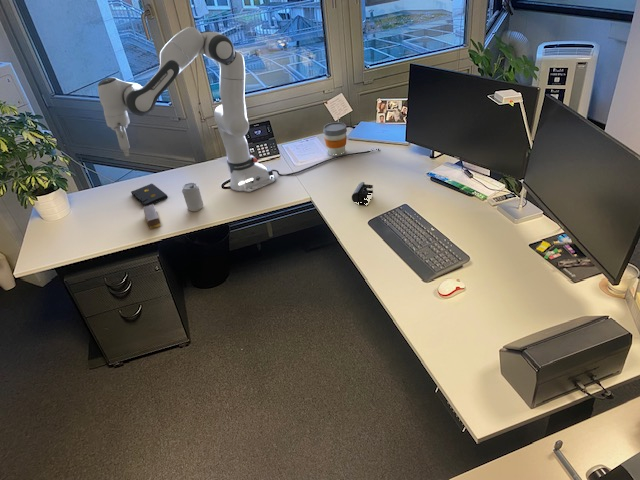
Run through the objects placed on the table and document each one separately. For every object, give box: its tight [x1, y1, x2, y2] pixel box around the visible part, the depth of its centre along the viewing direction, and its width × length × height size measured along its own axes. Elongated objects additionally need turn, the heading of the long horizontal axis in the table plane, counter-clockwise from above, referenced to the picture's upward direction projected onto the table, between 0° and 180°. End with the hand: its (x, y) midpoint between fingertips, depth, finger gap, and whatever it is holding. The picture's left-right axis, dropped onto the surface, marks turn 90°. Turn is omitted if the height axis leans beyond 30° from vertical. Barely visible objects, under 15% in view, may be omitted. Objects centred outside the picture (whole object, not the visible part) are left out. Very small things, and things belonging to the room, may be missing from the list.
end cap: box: [351, 181, 374, 207], centre depth 208 cm, size 10×7×7 cm
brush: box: [142, 203, 161, 230], centre depth 211 cm, size 5×14×4 cm, turn 25°
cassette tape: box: [130, 183, 168, 207], centre depth 231 cm, size 18×12×2 cm, turn 40°
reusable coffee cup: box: [322, 121, 348, 157], centre depth 250 cm, size 13×13×15 cm
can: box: [181, 182, 204, 212], centre depth 215 cm, size 8×8×12 cm
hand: (126, 151), depth 196 cm, fingers open, 8 cm apart
